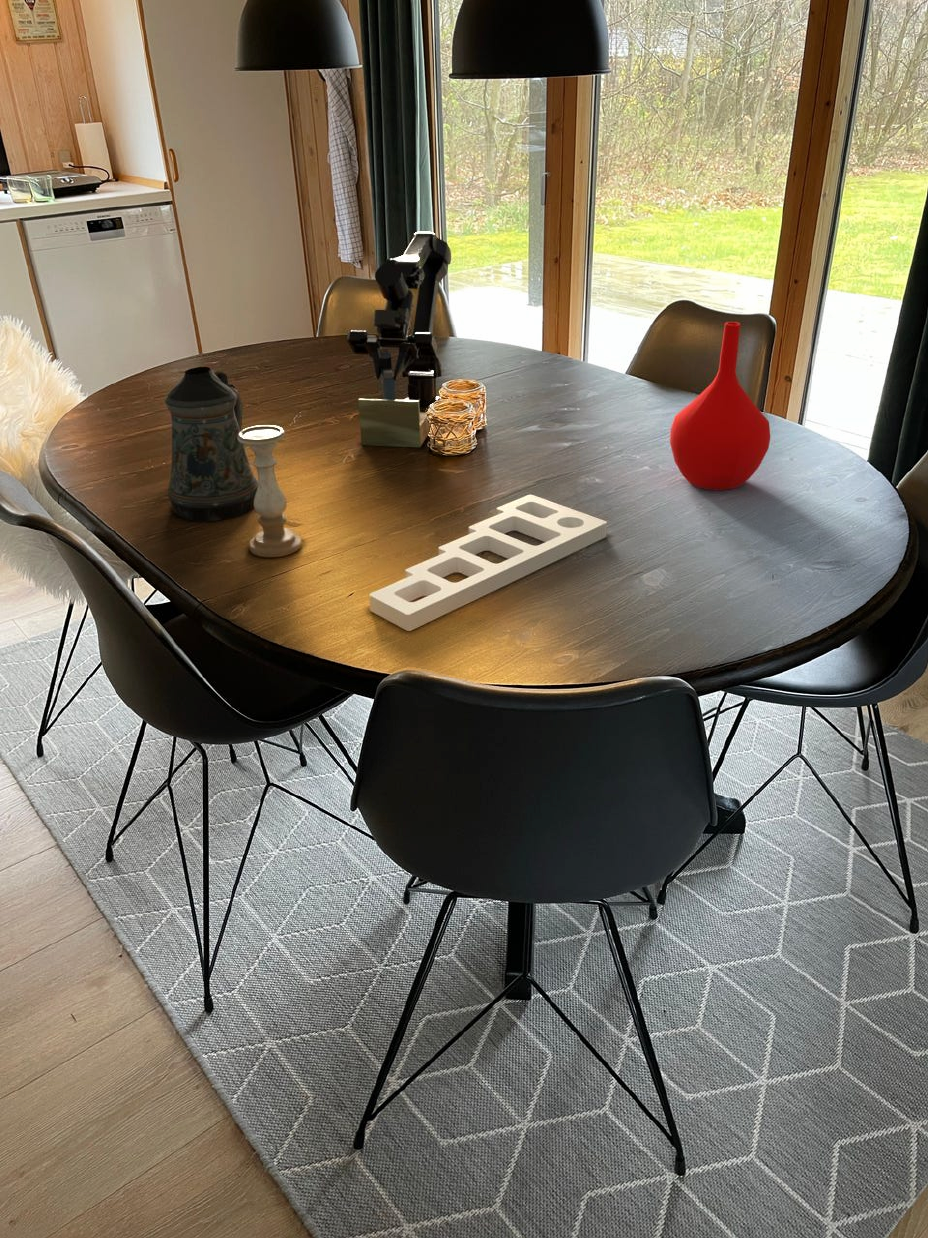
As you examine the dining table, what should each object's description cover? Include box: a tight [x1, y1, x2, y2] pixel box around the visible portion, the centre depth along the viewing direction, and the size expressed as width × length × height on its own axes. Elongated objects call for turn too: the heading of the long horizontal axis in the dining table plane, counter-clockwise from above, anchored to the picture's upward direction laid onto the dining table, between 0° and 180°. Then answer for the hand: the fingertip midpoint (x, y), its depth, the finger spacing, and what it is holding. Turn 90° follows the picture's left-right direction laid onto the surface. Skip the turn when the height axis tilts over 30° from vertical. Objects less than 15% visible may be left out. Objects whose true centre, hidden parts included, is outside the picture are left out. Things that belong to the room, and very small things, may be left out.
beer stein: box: [164, 366, 258, 522], centre depth 175 cm, size 16×19×25 cm
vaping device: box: [380, 349, 397, 400], centre depth 205 cm, size 3×5×12 cm, turn 11°
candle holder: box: [237, 424, 302, 558], centre depth 158 cm, size 9×9×20 cm
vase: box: [669, 321, 771, 491], centre depth 178 cm, size 18×18×30 cm
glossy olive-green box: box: [357, 398, 430, 448], centre depth 208 cm, size 10×13×10 cm
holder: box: [368, 494, 608, 632], centre depth 156 cm, size 45×18×3 cm, turn 134°
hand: (386, 378), depth 204 cm, fingers closed on vaping device, 3 cm apart
